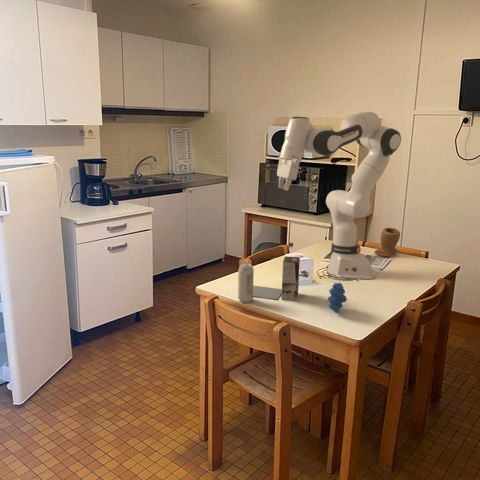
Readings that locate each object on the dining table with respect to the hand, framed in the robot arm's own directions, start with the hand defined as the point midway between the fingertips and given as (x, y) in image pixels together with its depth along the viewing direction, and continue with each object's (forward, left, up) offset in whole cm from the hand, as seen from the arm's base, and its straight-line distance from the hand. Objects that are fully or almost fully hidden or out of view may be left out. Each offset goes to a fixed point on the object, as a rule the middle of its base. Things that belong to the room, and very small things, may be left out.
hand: (283, 189), depth 198 cm
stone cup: (-43, -72, -44) cm, 95 cm away
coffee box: (-6, +7, -44) cm, 45 cm away
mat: (+6, +7, -44) cm, 44 cm away
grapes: (-27, +17, -44) cm, 54 cm away
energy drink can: (+10, +18, -44) cm, 48 cm away
